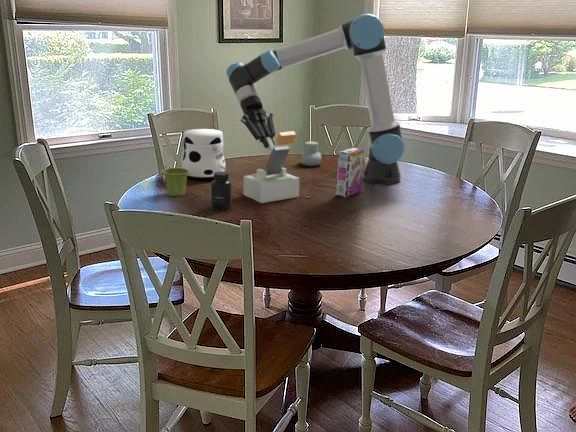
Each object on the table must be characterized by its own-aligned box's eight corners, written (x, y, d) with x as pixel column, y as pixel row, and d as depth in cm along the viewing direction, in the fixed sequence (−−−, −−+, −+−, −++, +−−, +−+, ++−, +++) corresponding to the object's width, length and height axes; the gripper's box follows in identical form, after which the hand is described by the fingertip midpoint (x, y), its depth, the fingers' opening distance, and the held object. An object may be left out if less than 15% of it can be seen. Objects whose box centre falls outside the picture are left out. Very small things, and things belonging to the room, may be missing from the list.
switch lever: (262, 173, 211) (278, 132, 198) (277, 171, 215) (294, 131, 202) (264, 177, 210) (281, 136, 198) (279, 174, 214) (296, 134, 201)
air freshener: (299, 162, 268) (300, 140, 265) (318, 162, 269) (318, 140, 266) (303, 167, 258) (303, 145, 255) (321, 167, 259) (322, 145, 256)
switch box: (243, 194, 215) (243, 167, 212) (280, 188, 224) (280, 163, 221) (261, 203, 206) (261, 175, 203) (298, 196, 214) (299, 169, 211)
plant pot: (194, 192, 216) (194, 169, 213) (179, 199, 208) (179, 175, 205) (173, 189, 220) (172, 166, 217) (157, 195, 212) (156, 171, 209)
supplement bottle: (215, 211, 195) (214, 176, 192) (208, 206, 201) (207, 171, 197) (234, 209, 198) (234, 174, 195) (227, 203, 204) (226, 170, 200)
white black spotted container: (233, 178, 237) (233, 133, 231) (193, 184, 228) (192, 137, 222) (213, 169, 251) (212, 127, 245) (175, 174, 241) (173, 130, 236)
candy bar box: (347, 198, 214) (349, 153, 209) (335, 195, 217) (337, 151, 212) (361, 191, 223) (364, 148, 218) (350, 189, 226) (352, 147, 221)
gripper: (260, 106, 223) (284, 158, 216) (230, 108, 216) (253, 162, 208) (268, 93, 217) (293, 146, 210) (237, 95, 210) (262, 150, 203)
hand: (273, 154), depth 209 cm, fingers closed
